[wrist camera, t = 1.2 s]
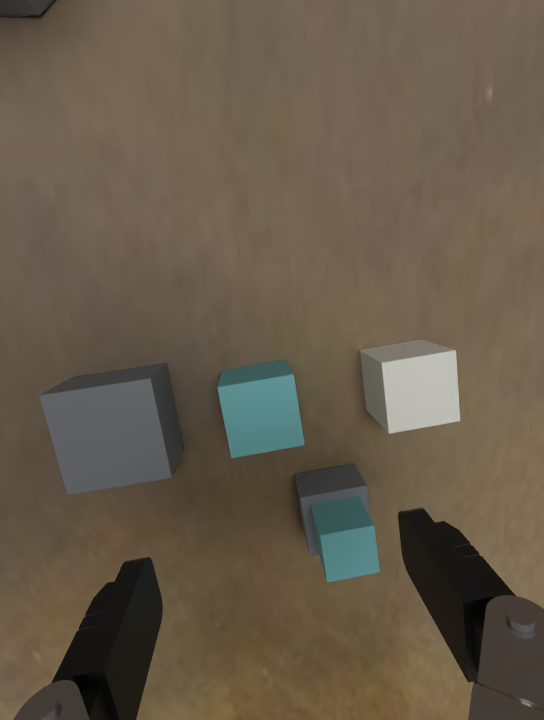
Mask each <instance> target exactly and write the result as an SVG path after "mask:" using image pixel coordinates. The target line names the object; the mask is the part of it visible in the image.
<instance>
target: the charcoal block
mask: <svg viewBox="0 0 544 720" xmlns="http://www.w3.org/2000/svg"><path fill="white" fill-rule="evenodd" d="M39 397H40V400H41V404H42V407H43V411H44V415H45V418H46V422H47V425H48V429H49V432H50V436H51V439H52V443H53V447H54V450H55V454H56V457H57V461H58V464H59V468H60V471H61V475H62V479H63V482H64V486H65V489H66V493H67V495H72V494H78V493H84V492H90V491H96V490H102V489H109V488H115V487H121V486H127V485H133V484H139V483H146V482H152V481H158V480H164V479H170V478H172V477H173V474H174V472H175V469H176V466H177V464H178V461H179V459H180V456H181V454H182V451H183V449H184V446H183V441H182V436H181V431H180V426H179V422H178V417H177V412H176V407H175V402H174V397H173V392H172V387H171V382H170V378H169V373H168V368H167V363H163V364H157V365H150V366H144V367H137V368H130V369H124V370H117V371H111V372H104V373H97V374H91V375H84V376H78V377H73V378H71V379H69V380H68V381H66V382H64V383H62V384H60V385H58V386H56V387H54V388H52V389H51V390H49V391H47V392H45V393H43V394H41V395H39Z"/></svg>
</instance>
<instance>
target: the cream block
mask: <svg viewBox="0 0 544 720" xmlns="http://www.w3.org/2000/svg"><path fill="white" fill-rule="evenodd" d="M360 358H361V367H362V376H363V384H364V393H365V402H366V410H367V411H368V412H369V413H370V414H371V415H372V416H373V418H374V419H375V420H376V421H377V422H378V423H379V424H380V425H381V426H382V427H383V428H384V429H385V430H386V431H387V432H388V433H389V434H390V433H395V432H401V431H407V430H412V429H418V428H423V427H429V426H435V425H440V424H446V423H451V422H457V421H460V412H459V395H458V379H457V362H456V350H454V349H451V348H447V347H444V346H441V345H438V344H434V343H431V342H428V341H425V340H416V341H410V342H404V343H398V344H393V345H387V346H381V347H375V348H369V349H363V350H360Z"/></svg>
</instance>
